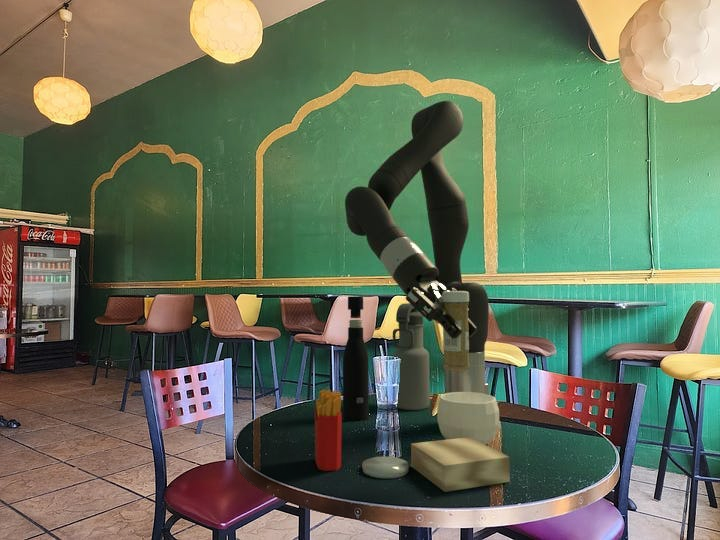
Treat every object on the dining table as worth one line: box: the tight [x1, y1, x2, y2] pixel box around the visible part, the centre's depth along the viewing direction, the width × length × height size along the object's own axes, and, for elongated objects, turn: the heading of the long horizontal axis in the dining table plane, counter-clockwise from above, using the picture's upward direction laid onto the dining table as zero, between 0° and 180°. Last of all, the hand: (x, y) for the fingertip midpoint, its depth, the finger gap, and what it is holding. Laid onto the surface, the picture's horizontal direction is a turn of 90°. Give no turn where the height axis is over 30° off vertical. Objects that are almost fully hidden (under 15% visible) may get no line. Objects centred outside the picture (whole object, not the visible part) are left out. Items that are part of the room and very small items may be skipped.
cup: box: [436, 392, 500, 445], centre depth 100 cm, size 12×12×10 cm
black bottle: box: [342, 296, 370, 422], centre depth 123 cm, size 6×6×30 cm
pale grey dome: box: [361, 456, 409, 479], centre depth 86 cm, size 8×8×1 cm
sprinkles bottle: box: [442, 291, 470, 371], centre depth 86 cm, size 5×5×14 cm
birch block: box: [410, 437, 511, 493], centre depth 84 cm, size 12×12×4 cm
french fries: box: [314, 389, 343, 472], centre depth 89 cm, size 9×4×13 cm, turn 13°
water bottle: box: [392, 302, 431, 411], centre depth 135 cm, size 10×10×28 cm
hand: (465, 334), depth 84 cm, fingers closed on sprinkles bottle, 4 cm apart
